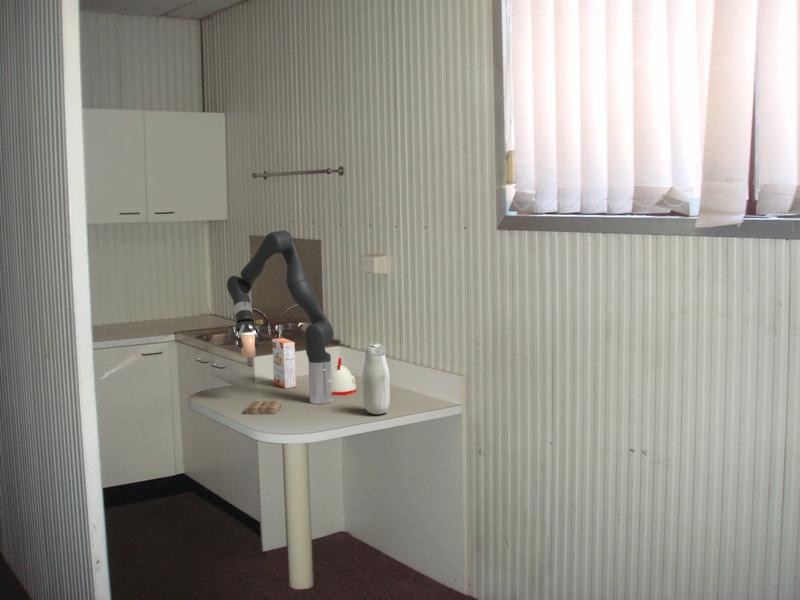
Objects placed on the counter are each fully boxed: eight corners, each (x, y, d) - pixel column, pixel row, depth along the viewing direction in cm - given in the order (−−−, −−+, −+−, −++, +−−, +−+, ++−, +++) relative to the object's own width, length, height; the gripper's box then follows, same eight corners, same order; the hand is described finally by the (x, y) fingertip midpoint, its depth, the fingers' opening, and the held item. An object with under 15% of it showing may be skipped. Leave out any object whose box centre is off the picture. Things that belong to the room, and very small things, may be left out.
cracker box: (273, 383, 424) (271, 338, 421) (285, 382, 427) (284, 337, 424) (284, 389, 411) (282, 342, 409) (296, 387, 414) (295, 341, 412)
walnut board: (281, 407, 376) (281, 401, 376) (275, 414, 364) (275, 407, 364) (252, 407, 377) (251, 401, 376) (245, 414, 365) (245, 408, 364)
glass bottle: (394, 413, 362) (393, 342, 358) (377, 418, 354) (375, 346, 351) (376, 409, 368) (375, 340, 365) (358, 414, 361) (356, 343, 357)
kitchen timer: (357, 388, 409) (356, 355, 408) (355, 395, 396) (354, 360, 394) (326, 389, 410) (325, 355, 408) (322, 395, 396) (321, 361, 394)
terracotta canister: (257, 355, 388) (255, 331, 387) (254, 357, 383) (253, 333, 381) (243, 355, 389) (242, 331, 387) (240, 357, 383) (239, 333, 382)
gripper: (227, 310, 388) (231, 342, 378) (261, 308, 393) (266, 339, 383) (226, 321, 394) (230, 353, 384) (260, 319, 398) (265, 350, 388)
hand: (248, 346), depth 383 cm, fingers closed on terracotta canister, 5 cm apart
